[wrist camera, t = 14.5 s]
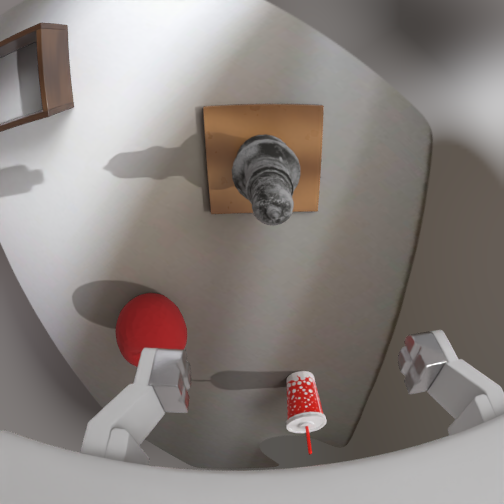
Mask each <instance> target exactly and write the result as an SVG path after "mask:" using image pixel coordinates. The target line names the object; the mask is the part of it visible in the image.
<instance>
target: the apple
mask: <svg viewBox="0 0 504 504" xmlns="http://www.w3.org/2000/svg"><path fill="white" fill-rule="evenodd" d="M116 339H117V344H118V347H119V349H120V351H121V353H122V355H123V357H124V358H125V359H126V360H127V361H128V362H129V363H130V364H132V365H134V366H136V367H138V364H139V360H140V356H141V352H142V350H143V349H144V348H162V349H182V350H184V348H185V345H186V342H187V328H186V324H185V321H184V319H183V316H182V314H181V312H180V311H179V309H178V307H177V306H176V305H175V304H174V303H173V302H172V301H171V300H169V299H168V298H167V297H165V296H164V295H161V294H156V293H146V294H142V295H139V296H137V297H135V298H134V299H132V300H130V301H129V302H128V303H127V304H126V305H125V306H124V308H123V309H122V310H121V312H120V314H119V316H118V320H117V324H116Z"/></svg>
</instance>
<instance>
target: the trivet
mask: <svg viewBox="0 0 504 504" xmlns="http://www.w3.org/2000/svg"><path fill="white" fill-rule="evenodd" d="M203 115H204V130H205V145H206V158H207V172H208V184H209V196H210V207H211V214H226V213H253V210H252V204H251V203H250V201H249V200H248V199H246V198H245V197H244V196H243V195H241V194H240V193H239V191H238V190H237V189H236V187H235V185H234V182H233V179H232V167H233V162H234V160H235V158H236V156H237V153H238V151H239V149H240V147H241V145H242V144H243V143H244V142H245V141H246V140H248V139H250V138H251V137H254V136H257V135H265V134H267V135H272V136H275V137H277V138H279V139H281V140H282V141H283V142H284V143H285V144H286V145H287V146H288V147H289V148H290V149H291V150H292V151H293V152H294V153H295V155H296V157H297V158H298V160H299V164H300V179H299V183H298V185H297V187H296V188H295V190H294V192H293V196H292V199H293V202H294V207H293V211H292V212H301V211H318V200H319V186H320V170H321V153H322V132H323V105H308V104H241V105H219V106H204V107H203Z"/></svg>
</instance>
